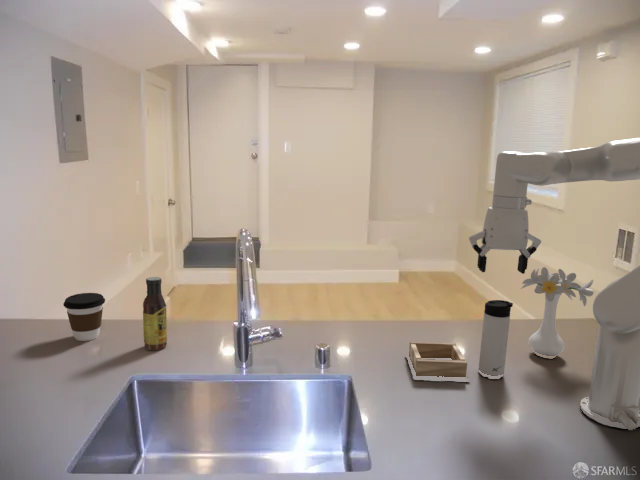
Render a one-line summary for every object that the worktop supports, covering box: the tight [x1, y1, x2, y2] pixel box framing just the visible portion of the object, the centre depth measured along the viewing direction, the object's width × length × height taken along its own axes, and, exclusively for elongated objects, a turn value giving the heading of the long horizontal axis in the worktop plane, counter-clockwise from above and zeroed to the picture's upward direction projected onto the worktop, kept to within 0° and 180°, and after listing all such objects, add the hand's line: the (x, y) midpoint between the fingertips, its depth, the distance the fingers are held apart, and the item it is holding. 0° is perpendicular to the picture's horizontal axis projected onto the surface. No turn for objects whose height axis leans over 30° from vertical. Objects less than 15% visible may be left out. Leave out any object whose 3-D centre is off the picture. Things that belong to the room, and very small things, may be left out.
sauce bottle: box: [142, 276, 168, 351], centre depth 140 cm, size 6×6×20 cm
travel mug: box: [478, 299, 514, 376], centre depth 129 cm, size 6×7×20 cm
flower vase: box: [520, 266, 594, 356], centre depth 142 cm, size 13×18×25 cm
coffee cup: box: [63, 292, 106, 342], centre depth 146 cm, size 11×11×12 cm
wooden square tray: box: [408, 340, 468, 377], centre depth 133 cm, size 14×14×5 cm
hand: (501, 271), depth 126 cm, fingers open, 9 cm apart
